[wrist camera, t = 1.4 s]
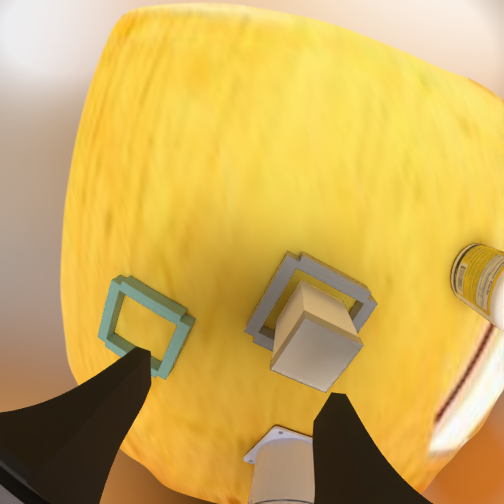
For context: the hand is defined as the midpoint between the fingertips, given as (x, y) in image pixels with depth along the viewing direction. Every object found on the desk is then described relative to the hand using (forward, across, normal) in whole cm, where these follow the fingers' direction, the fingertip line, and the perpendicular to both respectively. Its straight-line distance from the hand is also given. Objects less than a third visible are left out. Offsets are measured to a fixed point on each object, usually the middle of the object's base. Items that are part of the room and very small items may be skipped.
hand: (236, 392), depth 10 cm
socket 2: (+12, -5, +3) cm, 14 cm away
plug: (+12, -5, +3) cm, 14 cm away
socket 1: (+12, +9, +9) cm, 18 cm away
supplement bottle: (+13, -19, -4) cm, 23 cm away
